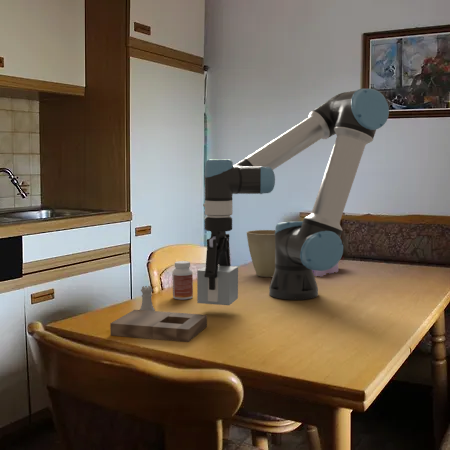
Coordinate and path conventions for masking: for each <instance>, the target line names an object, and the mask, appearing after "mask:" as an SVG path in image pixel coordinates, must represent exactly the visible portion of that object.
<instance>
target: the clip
mask: <svg viewBox="0 0 450 450" xmlns="http://www.w3.org/2000/svg"><path fill="white" fill-rule="evenodd" d="M334 272H336V273H338V272H339V262H338V263H337V264H336V265H335V266H334V267H332V268H331V269H329V270H325V271H317V270H313V274H314V276H320V277H324V276H323V275H325V276H326V275H327V274H326V273H329V274H335V273H334Z"/></svg>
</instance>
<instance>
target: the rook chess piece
mask: <svg viewBox="0 0 450 450" xmlns="http://www.w3.org/2000/svg"><path fill="white" fill-rule="evenodd" d="M153 290H154V289H152V286H150V285H148V286H147V285H145V286H141V289H140V292H141V293H142V295H141V297H142V299H141V306H140V308H139V309H138V310H145V311H156V309H155V308H154V305H153V301H152V296H153V295H152V292H153Z"/></svg>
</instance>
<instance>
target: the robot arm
mask: <svg viewBox="0 0 450 450" xmlns="http://www.w3.org/2000/svg"><path fill="white" fill-rule="evenodd" d="M389 113H390V107H389V103H388V101H387V99H386V97H385V96H384V94H383V93H381V92H380V91H379V90H377V89H374V88H360V89H357V90H352V91H345V92H341V93H338V94H336V95H335V96H332V97H331V98H330V99H328V100H326V101H325V102H323V103H322V104H321V105H319V106H318V107H316V108H315V109H313V110H312V111H310V112H309V114H308V117H307V118H305V119H304V120H302V121H301V122H299V123H298V124H296V125H294V126H293V127H291V128H290V129H288V130H286V131H285V132H283V133H282V134H280V135H279V136H277V137H276V138H274V139H272V140H271V141H270V142H268V143H266V144H265V145H264V146H262V147H259V149H257V150H255V151H254V152H253V153H251V154H248V156H247V157H245V158H243V159H242V160H240V161H239V162H237V163H235V164H233V163H234V162H233V160H232V159H223V158H221V159H218V158H217V159H215V158H214V159H213V158H211V159H207V160H206V161H205V165H204V175H203V176H204V203H203V204H202V207H203V208H204V215H206V216H205V217H204V230H205V231H207V232H210V237H209V238H207V239H206V256H205V266H206V269H205V275H204V276H205V277H208V301H212V302H218V277H217V273H218V266H232V264H231V253H230V233H226V232H230V231H232V230H233V217H232V215H233V195H239V194H241V195H244V194H245V195H248V194H249V195H253V194H255V195H256V194H259V195H263V194H271V193H272V192H273V191H274V189H275V185H276V175H275V173H274V170H276V169H277V168H278V167H279V166H282V165H283V164H284V163H286V162H287V161H289V160H291V159H292V158H294V157H295V156H297V155H299V154H301V152H303V151H305V150H306V149H307V148H310V147H311V146H312V145H314V144H315V143H317V142H318V141H320V140H328V139H329V138H331V137H333V136H334V135H336V139H335V141H334V143H333V147H332V150H331V152H330V153H331V154H330V156H329V159H328V162H327V165H326V168H325V171H324V174H323V177H322V180H321V183H320V187H319V189H318V192H317V194H316V198H315V201H314V204H313V208H312V210H311V213H310V214H309V215H307V216H305V217H303V220H301V221H287V222H286V221H284V222H278V223H276V225H275V229H274V230H275V272H274V275H273V277H272V279H271V281H270V284H269V288H268V290H269V291H268V293H269V294H268V295H269V296H271V298H275V299H276V298H277V299H281V300H290V301H298V300H300V301H301V300H311V299H315V298H317V297H318V296H319V288H318V283H317V282H316V281H317V280H316V277H314V273H313V270H317V271H325V270H329V269H331V268H332V267H334V266H335V265H336V264H337V263H338V264H339V263H340V260H341V259H342V256H343V254H344V245H343V241H342V239H341V236H342V235H343V228H342V226H341V220H342V216H343V214H344V212H345V208H346V205H347V202H348V199H349V197H350V193H351V190H352V187H353V183H354V180H355V178H356V175H357V171H358V170H359V165H360V163H361V159H362V157H363V154H364V151H365V149H366V145H368V144H369V143H372V142H373V140H374V137H375V136H376V135H375V134H376V131H377V130H379V129H381V128H382V127H384V126H385V124H386V123H387V121H388V120H389V119H388V118H389Z"/></svg>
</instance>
